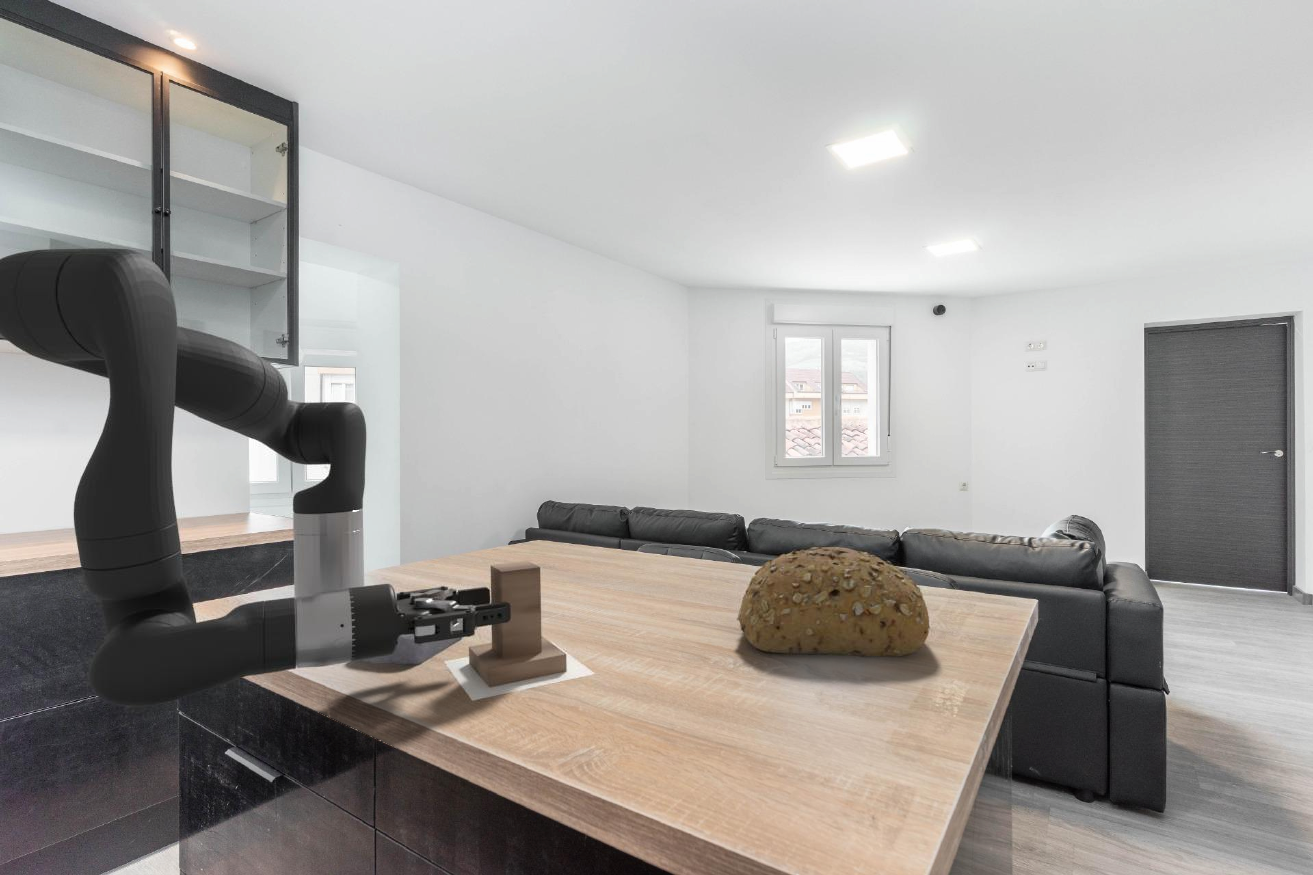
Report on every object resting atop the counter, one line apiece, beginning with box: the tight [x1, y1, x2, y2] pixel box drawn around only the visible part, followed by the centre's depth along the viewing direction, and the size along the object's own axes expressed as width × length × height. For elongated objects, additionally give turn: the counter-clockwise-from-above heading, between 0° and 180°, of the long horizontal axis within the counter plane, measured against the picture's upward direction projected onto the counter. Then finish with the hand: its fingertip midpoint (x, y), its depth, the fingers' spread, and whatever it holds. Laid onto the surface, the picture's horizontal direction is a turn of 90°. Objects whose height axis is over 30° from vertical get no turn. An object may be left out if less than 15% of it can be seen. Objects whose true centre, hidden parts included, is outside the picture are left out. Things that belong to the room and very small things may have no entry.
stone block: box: [361, 618, 463, 666], centre depth 84 cm, size 12×5×10 cm
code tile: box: [443, 641, 596, 702], centre depth 76 cm, size 14×14×1 cm
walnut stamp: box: [468, 560, 567, 687], centre depth 76 cm, size 9×9×12 cm
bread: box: [736, 546, 931, 658], centre depth 87 cm, size 24×21×12 cm
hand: (498, 603), depth 75 cm, fingers open, 8 cm apart
